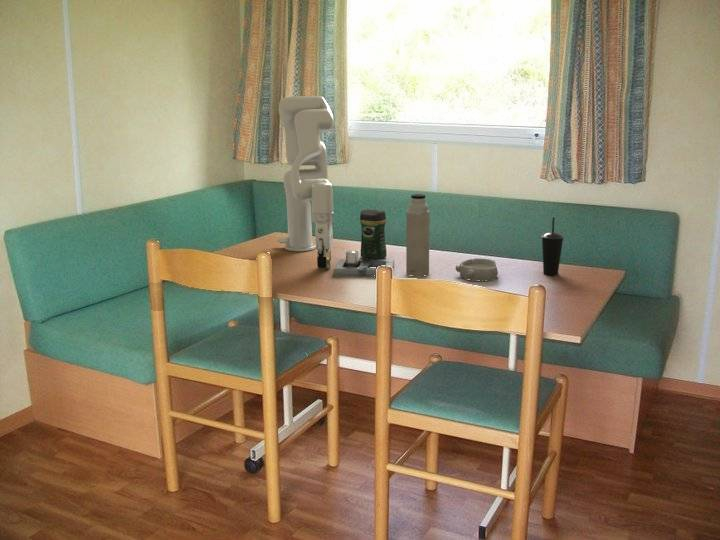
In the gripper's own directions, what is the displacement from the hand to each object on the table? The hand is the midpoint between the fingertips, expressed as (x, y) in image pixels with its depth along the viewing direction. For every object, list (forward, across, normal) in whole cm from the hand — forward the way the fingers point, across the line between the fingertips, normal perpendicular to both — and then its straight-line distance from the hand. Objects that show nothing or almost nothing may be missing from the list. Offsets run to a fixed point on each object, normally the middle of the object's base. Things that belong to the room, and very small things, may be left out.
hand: (324, 264), depth 279 cm
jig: (+2, -2, -15) cm, 15 cm away
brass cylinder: (+2, 0, 0) cm, 2 cm away
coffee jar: (+2, +17, -16) cm, 23 cm away
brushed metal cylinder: (+2, -2, -10) cm, 11 cm away
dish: (+2, -6, -55) cm, 55 cm away
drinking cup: (+2, -1, -80) cm, 80 cm away
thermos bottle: (+2, -4, -34) cm, 34 cm away
